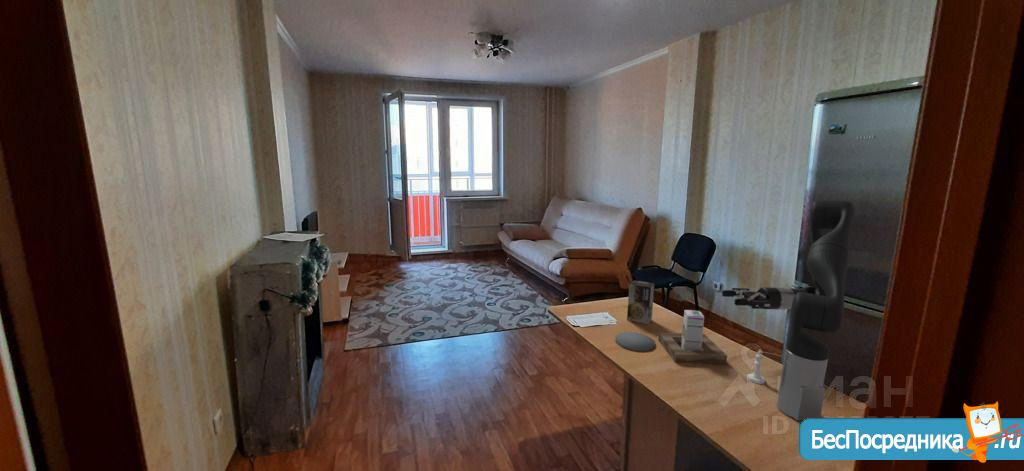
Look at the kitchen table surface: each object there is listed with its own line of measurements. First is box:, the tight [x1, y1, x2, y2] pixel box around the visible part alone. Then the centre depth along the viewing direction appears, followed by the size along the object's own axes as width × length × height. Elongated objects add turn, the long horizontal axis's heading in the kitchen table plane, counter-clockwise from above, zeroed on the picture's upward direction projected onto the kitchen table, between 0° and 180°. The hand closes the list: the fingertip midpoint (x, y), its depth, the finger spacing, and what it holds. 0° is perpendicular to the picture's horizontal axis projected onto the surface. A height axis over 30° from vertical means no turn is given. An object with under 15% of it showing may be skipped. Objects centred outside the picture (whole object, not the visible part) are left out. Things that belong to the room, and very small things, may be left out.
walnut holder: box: [658, 332, 728, 365], centre depth 145 cm, size 17×17×3 cm
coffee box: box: [626, 280, 655, 325], centre depth 172 cm, size 9×6×16 cm
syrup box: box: [680, 309, 705, 350], centre depth 144 cm, size 6×6×14 cm
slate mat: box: [614, 331, 656, 352], centre depth 152 cm, size 14×14×1 cm
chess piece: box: [746, 349, 766, 385], centre depth 127 cm, size 5×5×10 cm
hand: (728, 297), depth 142 cm, fingers open, 8 cm apart
